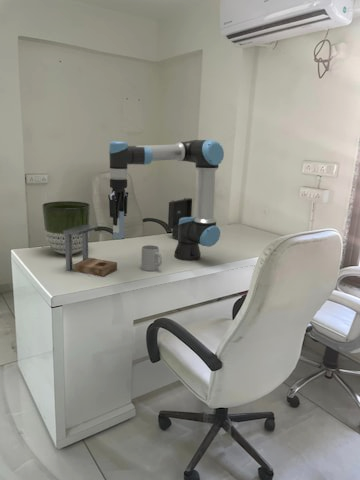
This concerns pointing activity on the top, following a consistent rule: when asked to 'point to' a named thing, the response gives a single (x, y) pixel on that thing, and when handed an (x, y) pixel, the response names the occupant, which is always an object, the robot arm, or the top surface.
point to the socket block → (95, 267)
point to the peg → (120, 226)
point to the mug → (150, 258)
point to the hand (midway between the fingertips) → (118, 231)
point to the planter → (64, 223)
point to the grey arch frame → (84, 231)
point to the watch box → (178, 213)
